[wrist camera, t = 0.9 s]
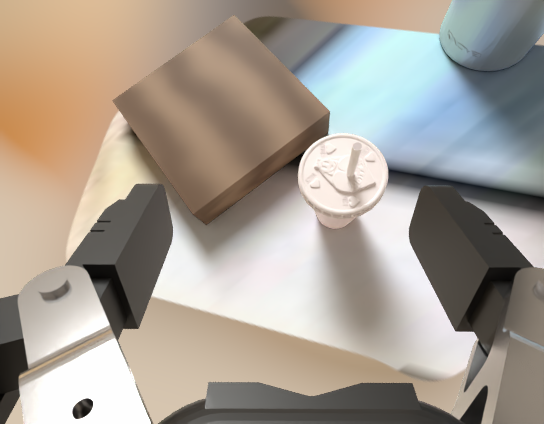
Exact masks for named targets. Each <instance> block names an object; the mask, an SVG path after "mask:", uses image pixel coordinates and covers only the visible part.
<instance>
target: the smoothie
mask: <svg viewBox="0 0 544 424" xmlns="http://www.w3.org/2000/svg"><path fill="white" fill-rule="evenodd" d="M387 181H388V168H387V164H386V161H385V159H384V156H383V155H382V153H381V152H380V150H379V149H378V148H377V147H376V146H375V145H374V144H373V143H371V142H370V141H368V140H367V139H365V138H363V137H360V136H357V135H353V134H346V133H340V134H333V135H329V136H326V137H323V138H321V139H319V140H318V141H316V142H315V143H313V144H312V145H311V146H310V147H309V148H308V149H307V151H306V152H305V153H304V155H303V157H302V159H301V162H300V165H299V172H298V185H299V188H300V191H301V194H302V196H303V197H304V199H305V201H306V202H307V204H309V205H310V206H311V207H312V208H313V209H314V211H315V213H316V216H317V218H318V219H319V221H320V222H321V223H322V224H323V225H324V226H326V227H328V228H331V229H339V228H343V227H345V226H346V225H348V224H349V223H350V222H351V221H352V220H353V219H355V218H356V217H358V216H361V215H363V214H364V213H366V212H368V211H370V210H371V209H372V208H373V207H374V206H375V205H376V204H377V203H378V202H379V201H380V199H381V197H382V195H383V193H384V191H385V188H386V185H387Z"/></svg>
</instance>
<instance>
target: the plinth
mask: <svg viewBox="0 0 544 424" xmlns="http://www.w3.org/2000/svg"><path fill="white" fill-rule="evenodd" d="M113 102H114V104H115V105H116V107H117V108H118V109H119V111H120V112H121V114H122V115H123V116H124V118H125V119H126V121H127V122H128V124H129V125H130V126H131V128H132V129H133V131H134V132H135V133H136V135H137V136H138V138H139V139H140V140H141V142H142V143H143V145H144V146H145V148H146V149H147V150H148V152H149V153H150V155H151V156H152V157H153V159H154V160H155V162H156V163H157V165H158V166H159V167H160V169H161V170H162V172H163V173H164V174H165V176H166V177H167V179H168V180H169V181H170V183H171V184H172V186H173V187H174V189H175V190H176V191H177V193H178V194H179V196H180V197H181V198H182V200H183V201H184V203H185V204H186V205H187V207H188V208H189V210H190V211H191V213H192V214H193V215H194V216H196V217H197V218H198V219H199V220H201V221H202V222H203V223H205V224H206V225H207V224H208V223H210V222H211V221H212V220H214V219H215V218H216V217H218V216H219V215H220V214H222V213H223V212H224V211H226V210H227V209H228V208H230V207H231V206H232V205H233V204H235V203H236V202H237V201H239V200H240V199H241V198H243V197H244V196H245V195H247V194H248V193H249V192H251V191H252V190H253V189H255V188H256V187H257V186H259V185H260V184H261V183H263V182H264V181H265V180H267V179H268V178H269V177H271V176H272V175H273V174H274V173H276V172H277V171H278V170H280V169H281V168H282V167H284V166H285V165H286V164H288V163H289V162H290V161H292V160H293V159H294V158H296V157H297V156H298V155H300V154H301V153H302V152H304V151H305V150H306V149H308V148H309V147H310V146H311V145H312V144H313V143H315V142H316V141H318V140H319V139H321V138H322V137H323V136H325V135H326V134H327V133H328V130H329V116H330V111H329V110H328V109H327V108H326V107H325V106H324V105H323V104H322V103H321V102H320V101H319V100H318V99H317V98H316V97H315V96H314V95H313V94H312V93H311V92H310V91H309V90H308V89H307V88H306V87H305V86H304V85H303V84H302V83H301V82H300V81H299V80H298V79H297V78H296V77H295V76H294V75H293V74H292V73H291V72H290V71H289V70H288V69H287V68H286V67H285V66H284V65H283V64H282V63H281V62H280V61H279V60H278V59H277V58H276V57H275V56H274V55H273V54H272V53H271V52H270V51H269V50H268V49H267V48H266V47H265V46H264V44H263V43H262V42H261V41H260V40H259V39H258V38H257V37H256V36H255V35H254V34H253V33H252V32H251V31H250V30H249V29H248V28H247V27H246V26H245V25H244V24H243V23H242V22H241V21H240V20H239V19H238V18H237V17H236V16H234V15H233V16H232V17H230V18H229V19H227V20H226V21H225V22H223V23H222V24H221V25H219V26H218V27H216V28H215V29H213V30H212V31H211V32H209V33H208V34H206V35H205V36H203V37H202V38H200V39H199V40H198V41H196V42H195V43H193V44H192V45H191V46H189V47H188V48H186V49H185V50H183V51H182V52H181V53H179V54H178V55H176V56H175V57H174V58H172V59H171V60H169V61H168V62H166V63H165V64H164V65H162V66H161V67H159V68H158V69H156V70H155V71H154V72H152V73H151V74H149V75H148V76H146V77H145V78H144V79H142V80H141V81H139V82H138V83H137V84H135V85H134V86H132V87H131V88H129V89H128V90H127V91H126V92H124V93H122V94H121V95H119V96H118V97H117V98H115V99H114V100H113Z"/></svg>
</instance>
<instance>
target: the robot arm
mask: <svg viewBox="0 0 544 424" xmlns="http://www.w3.org/2000/svg"><path fill="white" fill-rule="evenodd" d="M543 34H544V0H452V2H451V4H450V7H449V9H448V11H447V13H446V16H445V18H444V20H443V22H442V25H441V28H440V42H441V45H442V47H443V49H444V50H445V52H446V54H447V55H448V56H449V57H450V58H452V59H453V60H454V61H456V62H457V63H459V64H460V65H462V66H465V67H467V68H470V69H474V70H478V71H496V70H501V69H505V68H508V67H510V66H512V65H514V64H516V63H518V62H519V61H520V60H521V59H523V58H524V56H525V55H526V54H527V53H528V52H529V50H530V49H531V48H532V47H533V46H534V44H535V43H536V42H537V41H538V39H539V38H540V37H541V36H542V35H543ZM90 231H91V232H90V233H88V234H87V235H86V237H85V238H84V240H83V241H82V242H81V244H80V245H79V246H78V248H77V249H76V251H75V252H74V253H73V255H72V256H71V258H70V259H69V260H68V262H67V263H66V265H65V266H60V267H56V268H53V269H50V270H47V271H45V272H43V273H41V274H39V275H38V276H36V277H35V278H33V279H32V280H31V281H29V282H28V283H27V284H26V285H25V286H24V288H23V289H22V290H21V292H20V294H18V295H13V296H9V297H5V298H0V424H5V423H6V421H7V419H8V417H9V415H10V413H11V411H12V410H13V408H14V406H15V404H16V402H17V400H18V399H19V397H20V398H21V405H22V413H23V420H24V424H153V421H152V419H151V417H150V414H149V412H148V410H147V408H146V405H145V403H144V401H143V399H142V396H141V394H140V391H139V389H138V386H137V384H136V382H135V379H134V377H133V375H132V373H131V370H130V368H129V365H128V363H127V360H126V358H125V356H124V353H123V351H122V349H121V346H120V344H119V342H118V339H119V337H120V334H121V332H122V330H123V329H138V328H139V326H140V323H141V321H142V318H143V316H144V313H145V311H146V308H147V305H148V302H149V300H150V297H151V295H152V292H153V290H154V287H155V284H156V282H157V279H158V277H159V274H160V271H161V269H162V266H163V264H164V261H165V258H166V256H167V253H168V250H169V248H170V245H171V242H172V237H173V226H172V220H171V216H170V211H169V206H168V201H167V197H166V192H165V189H164V186H163V185H162V184H136V185H135V186H134V187H133V189H132V190H131V192H130V193H129V195H128V196H127V198H126V199H125V200H118V201H117V202H115V203H114V204H112V205H111V206H109V207H108V208H107V209H105V210H104V212H103V213H102V215H101V216H100V217H99V219H98V220H97V223H95V224H94V226H93V227H92V228H91V230H90ZM409 239H410V243H411V246H412V248H413V250H414V252H415V254H416V256H417V258H418V259H419V261H420V263H421V265H422V267H423V269H424V271H425V273H426V275H427V277H428V279H429V281H430V283H431V285H432V287H433V289H434V291H435V293H436V295H437V296H438V298H439V300H440V302H441V304H442V306H443V308H444V310H445V312H446V314H447V316H448V318H449V320H450V322H451V324H452V326H453V328H454V330H455V331H467V332H475V334H476V336H477V340H476V341H475V343H474V345H473V348H472V351H471V354H470V358H469V361H468V364H467V368H466V371H465V374H464V378H463V381H462V385H461V388H460V391H459V395H458V398H457V401H456V403H455V406H454V408H453V410H452V412H451V414H449V413H447V412H445V411H443V410H441V409H439V408H437V407H435V406H432V405H430V404H427V403H425V402H422V401H418V399H417V396H416V393H415V390H414V387H413V384H412V383H360V384H357V385H353V386H350V387H346V388H343V389H339V390H336V391H332V392H328V393H324V394H321V395H317V396H306V395H302V394H299V393H295V392H291V391H288V390H284V389H281V388H277V387H273V386H270V385H266V384H262V383H258V382H257V383H255V382H252V383H251V382H247V383H246V382H209V383H208V389H207V396H206V399H202V400H198V401H196V402H194V403H191V404H188V405H186V406H184V407H182V408H181V409H179V410H177V411H175V412H173V413H172V414H171V415H169V416H168V417H166V418H165V419H164V420H162V421H161V422H160V423H158V424H544V269H542V268H534V267H533V266H532V265H531V263H530V262H529V261H528V260H527V259H526V258H525V257H524V256H523V255H522V253H521V252H520V251H519V250H518V249H517V248H516V247H515V246H514V245H513V243H512V242H511V241H510V240H509V239H508V238H507V237H506V236H505V235H503V232H502V231H501V230H500V229H499V228H498V227H497V226H496V225H494V222H493V221H492V220H491V219H490V218H489V217H488V216H487V214H486V213H485V212H484V211H482V210H481V209H479V208H477V207H476V206H474V205H473V204H471V203H470V202H465V200H464V199H463V198H462V197H461V196H460V195H459V193H458V192H457V191H456V190H455V189H454V188H453V187H452V186H424V187H423V188H422V189H421V191H420V194H419V197H418V200H417V203H416V207H415V210H414V213H413V217H412V220H411V223H410V227H409Z"/></svg>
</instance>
